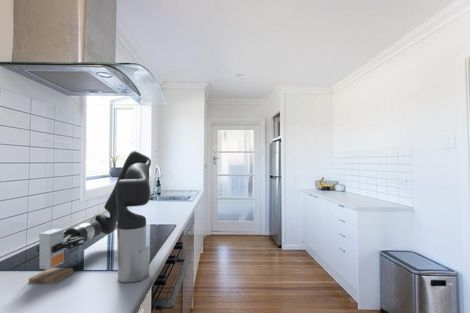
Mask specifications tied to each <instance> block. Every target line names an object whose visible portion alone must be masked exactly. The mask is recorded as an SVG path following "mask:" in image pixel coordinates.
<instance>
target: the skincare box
mask: <svg viewBox="0 0 470 313" xmlns="http://www.w3.org/2000/svg"><path fill="white" fill-rule="evenodd" d="M64 232H65V231H64V229H62V228H60V229H59V228H53V229H50V230H47V231H44V232H43V231H42V232H40V233H39V238H38V239H39V242H38V244H39V245H38V246H39V252H38V254H39V269H41V270H46V269H51V268H57V267H58V266H60V265H62V264H64V262H65V261H64V260H65V259H64V256H65V254H64V250H65V249H64V250H60V251H57V252H55V253H52V246H54V245H57V244H59V243H61V242H63V241H64Z"/></svg>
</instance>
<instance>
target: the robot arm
mask: <svg viewBox="0 0 470 313" xmlns="http://www.w3.org/2000/svg"><path fill="white" fill-rule="evenodd" d="M151 165H152V160H151V158H150V157H148V156H147V155H145V154H142V153H140V152H138V151H137V150H132V151H131V152H130V153H129V154H128V156H127V158H126V159H125V162H124V164H123V166H122V167H121V170H120V172H119V175H118V178H117V179H116V182H115V185H114V187H113V188H112V191H111V193H110V195H109V197H108V199H107V200H106V202H105V204H104V209H105V211H107V212H108V213H109V216H107V215H105V214H102V213H97V214H95V215H94V216H93V217H92V218H91V219H89V221H87V222H85V223H80V224H78V225H75V226H72V227H69V228H68V229H66V230H65V231H64V241H63V242H61V243H59V244H57V245H54V246H52V253H55V252H57V251H60V250H71V249H74V248H77V247H80V246H83V245H84V244H85V243H87V242H89V241H90V240H91V239H93V238H95V237H97V236H99V235H100V234H101V233H102V234H104V235H111V234H112V233H113V232H114V230H115V229H116V228H117V229H116V231H117V232H116V239H117V240H116V242H117V244H116V246H117V247H116V248H117V250H116V251H117V280H118V282H120V283H135V282H142V281H143V280H145V278H147V276H148V275H149V274H150V247H149V246H147V218H146V217H145V216H144V215H142V214H138V213H135V212H133V211H130V210H129V208H128V207H130V208H131V207H141V206H142V207H143V206H145V205H147V204H148V203H149V201H150V197H151V188H150V187H151V185H150V168H151ZM37 253H39V245H38V246H37Z"/></svg>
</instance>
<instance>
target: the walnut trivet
mask: <svg viewBox="0 0 470 313" xmlns="http://www.w3.org/2000/svg"><path fill="white" fill-rule="evenodd" d="M73 272H74V268H70V267H68V268H67V267H66V268H65V267H54V268H51V269H44V270H43V271H41V272H39V273H37V274H35V275H33V276H31V277H29V278H28V283H35V284H37V283H39V284H40V283H41V284H46V283H47V284H55V283H57V282H59V281H60V280H62V279H63V278H66V277H67V276H69V275H70V274H72V273H73Z"/></svg>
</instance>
